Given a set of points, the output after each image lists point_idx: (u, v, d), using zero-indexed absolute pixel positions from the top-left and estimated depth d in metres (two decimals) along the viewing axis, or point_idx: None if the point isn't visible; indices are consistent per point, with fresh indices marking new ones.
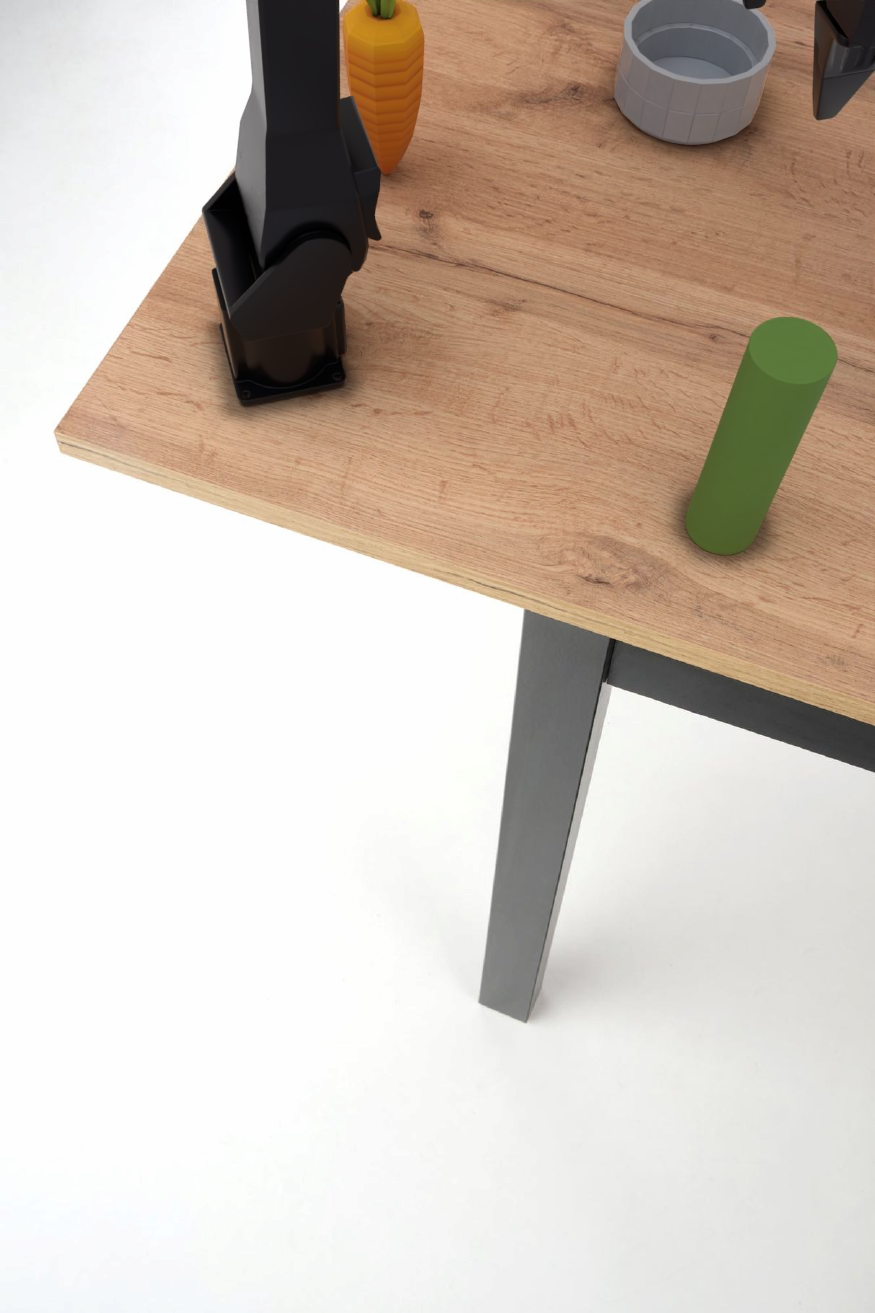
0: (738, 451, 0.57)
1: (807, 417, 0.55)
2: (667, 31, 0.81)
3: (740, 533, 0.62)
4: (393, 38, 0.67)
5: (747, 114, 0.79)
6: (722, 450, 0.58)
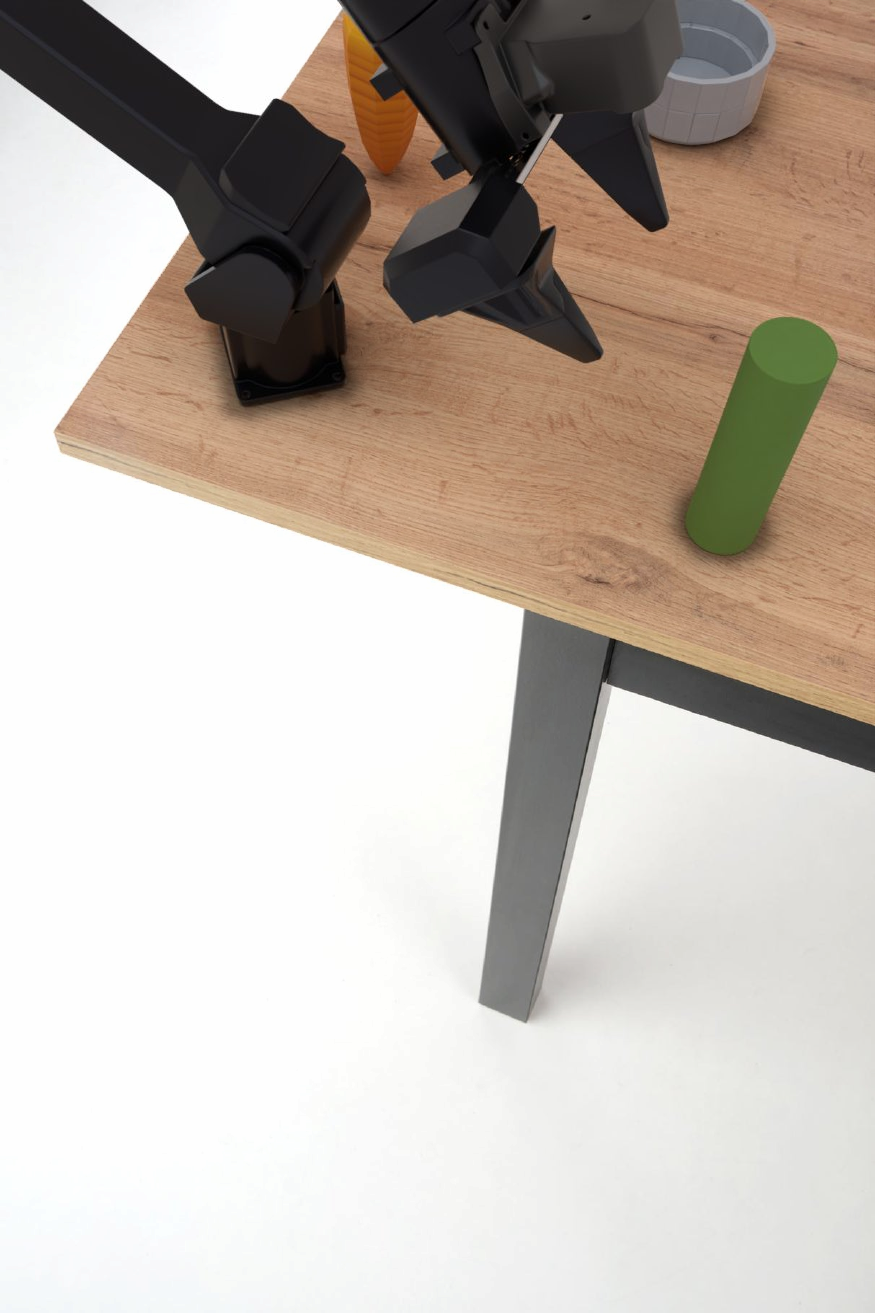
0: (738, 451, 0.57)
1: (807, 417, 0.55)
2: None
3: (740, 533, 0.62)
4: None
5: (747, 114, 0.79)
6: (722, 450, 0.58)
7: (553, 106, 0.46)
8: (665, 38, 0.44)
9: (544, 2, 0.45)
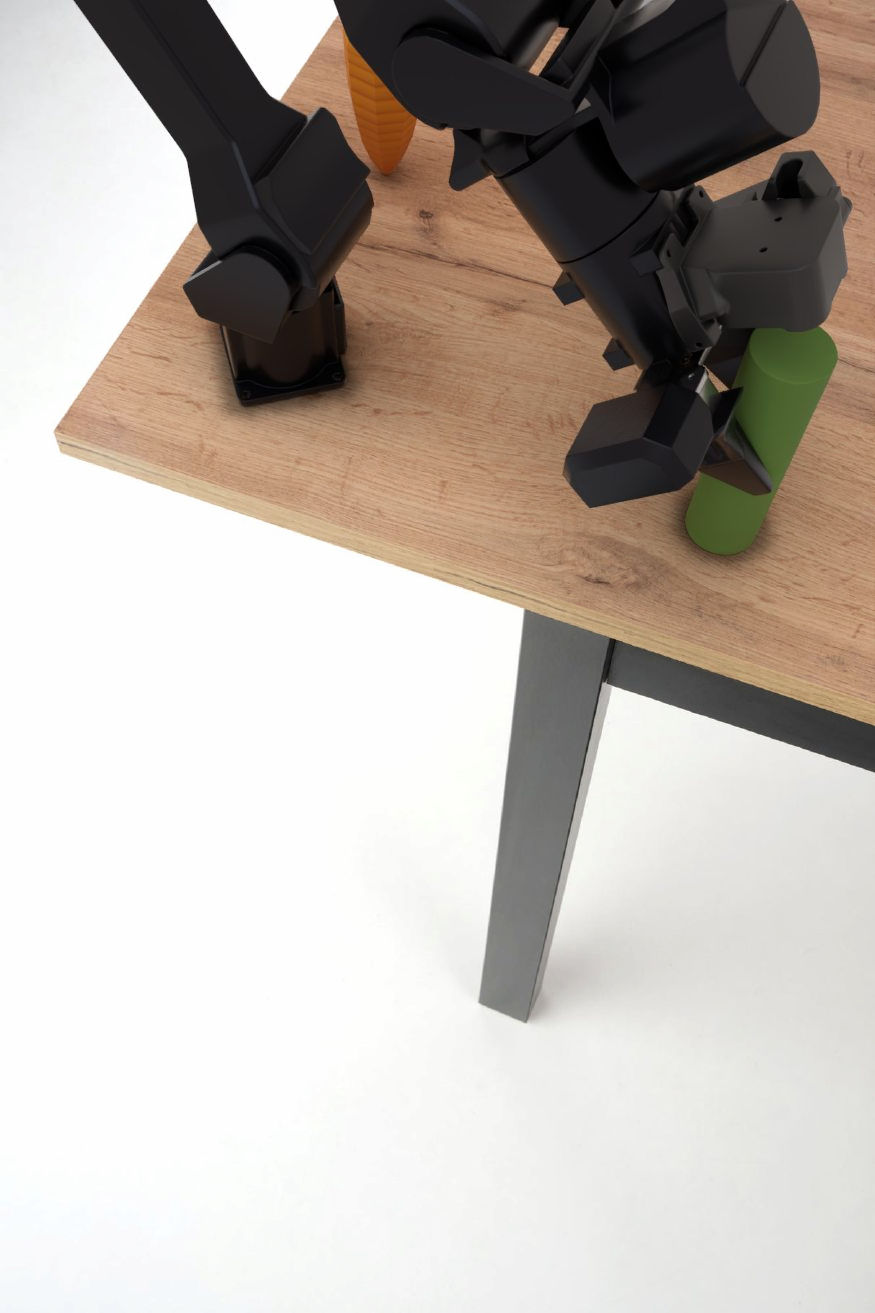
0: None
1: (807, 417, 0.55)
2: None
3: (740, 533, 0.62)
4: None
5: None
6: None
7: (727, 321, 0.50)
8: (834, 266, 0.48)
9: (719, 228, 0.50)
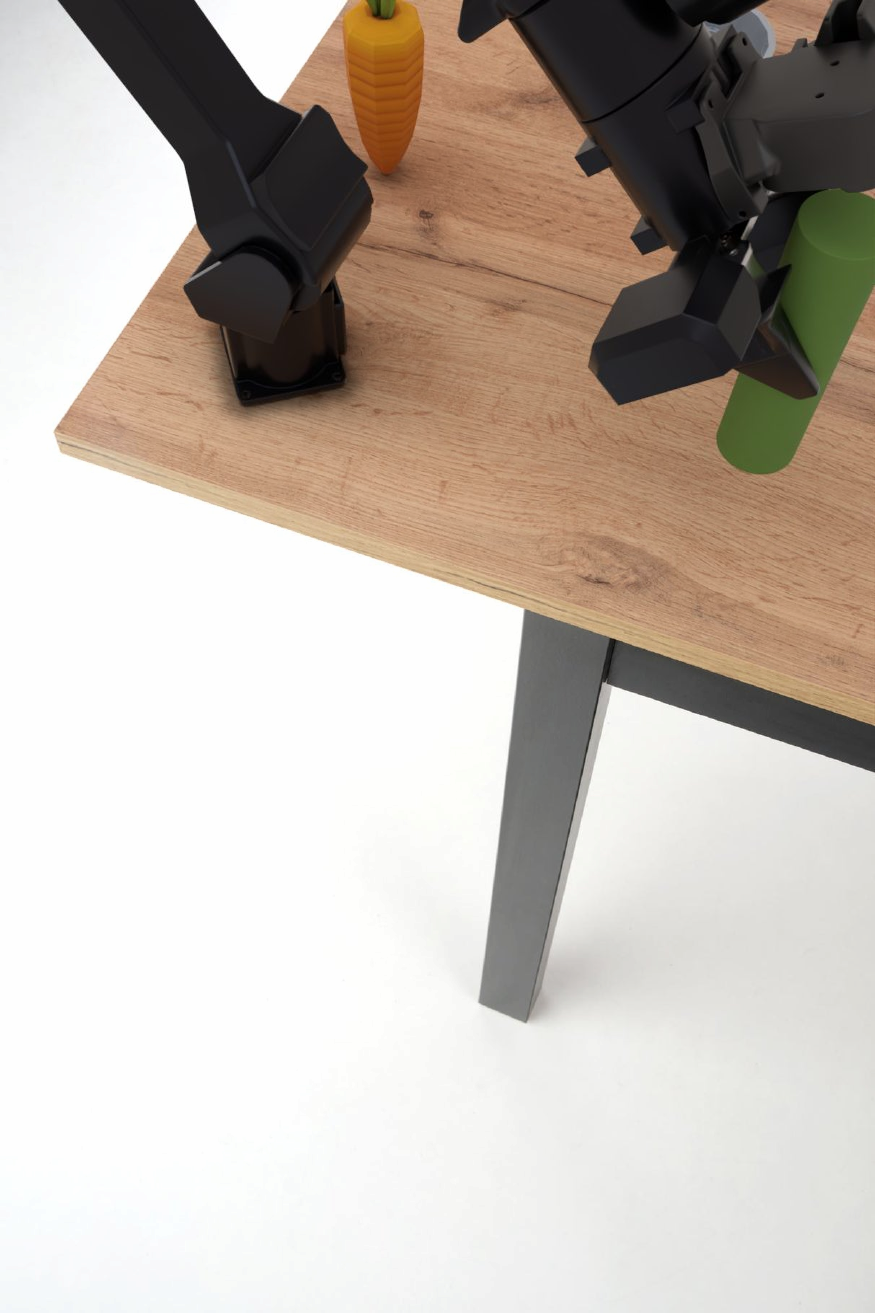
0: None
1: (861, 304, 0.49)
2: None
3: (779, 448, 0.56)
4: (393, 39, 0.67)
5: None
6: None
7: (775, 184, 0.44)
8: None
9: (767, 78, 0.44)
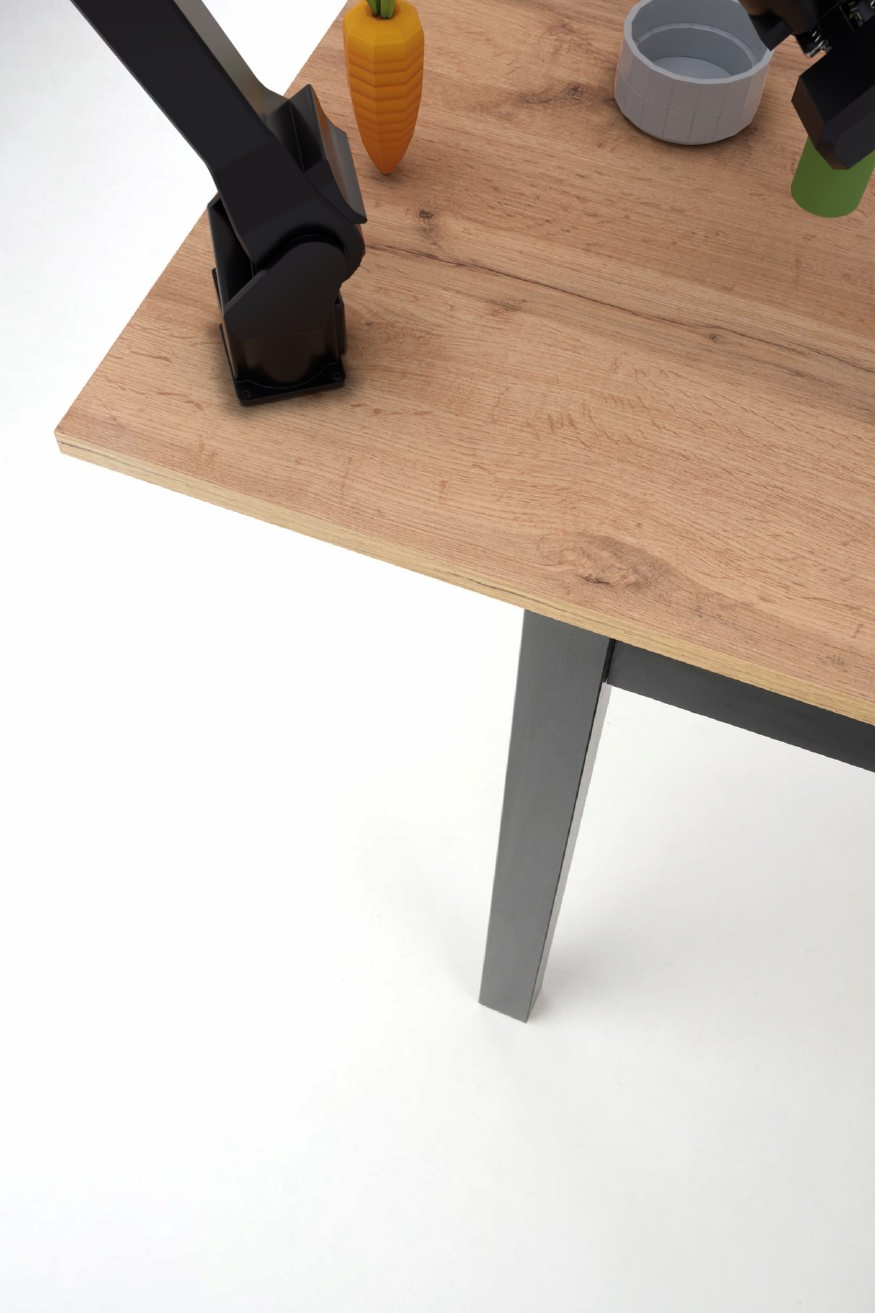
0: None
1: None
2: (667, 31, 0.81)
3: (866, 179, 0.65)
4: (393, 38, 0.67)
5: (747, 114, 0.79)
6: None
7: None
8: None
9: None
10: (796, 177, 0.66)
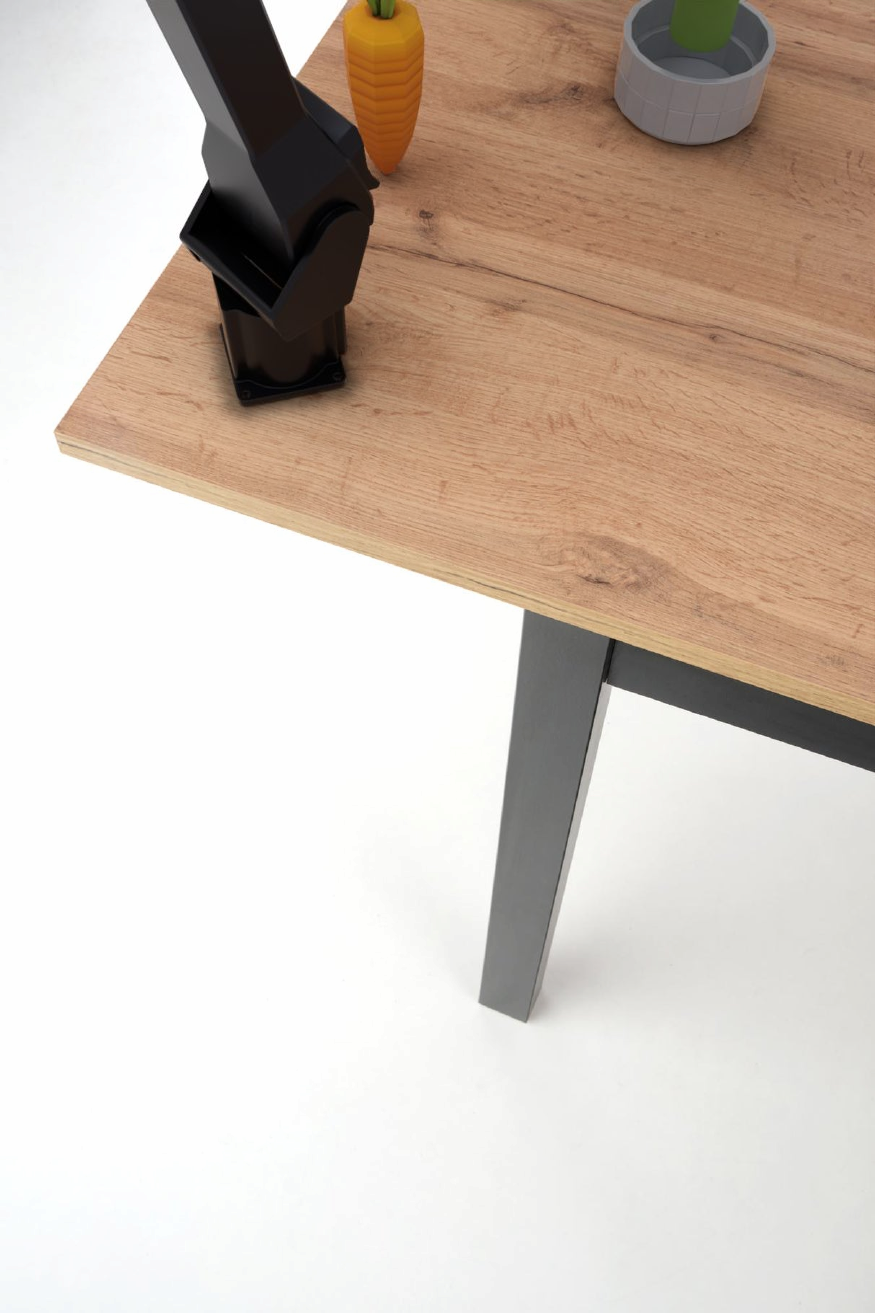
0: None
1: None
2: (667, 31, 0.81)
3: (737, 7, 0.75)
4: (393, 38, 0.67)
5: (747, 114, 0.79)
6: None
7: None
8: None
9: None
10: (679, 27, 0.76)
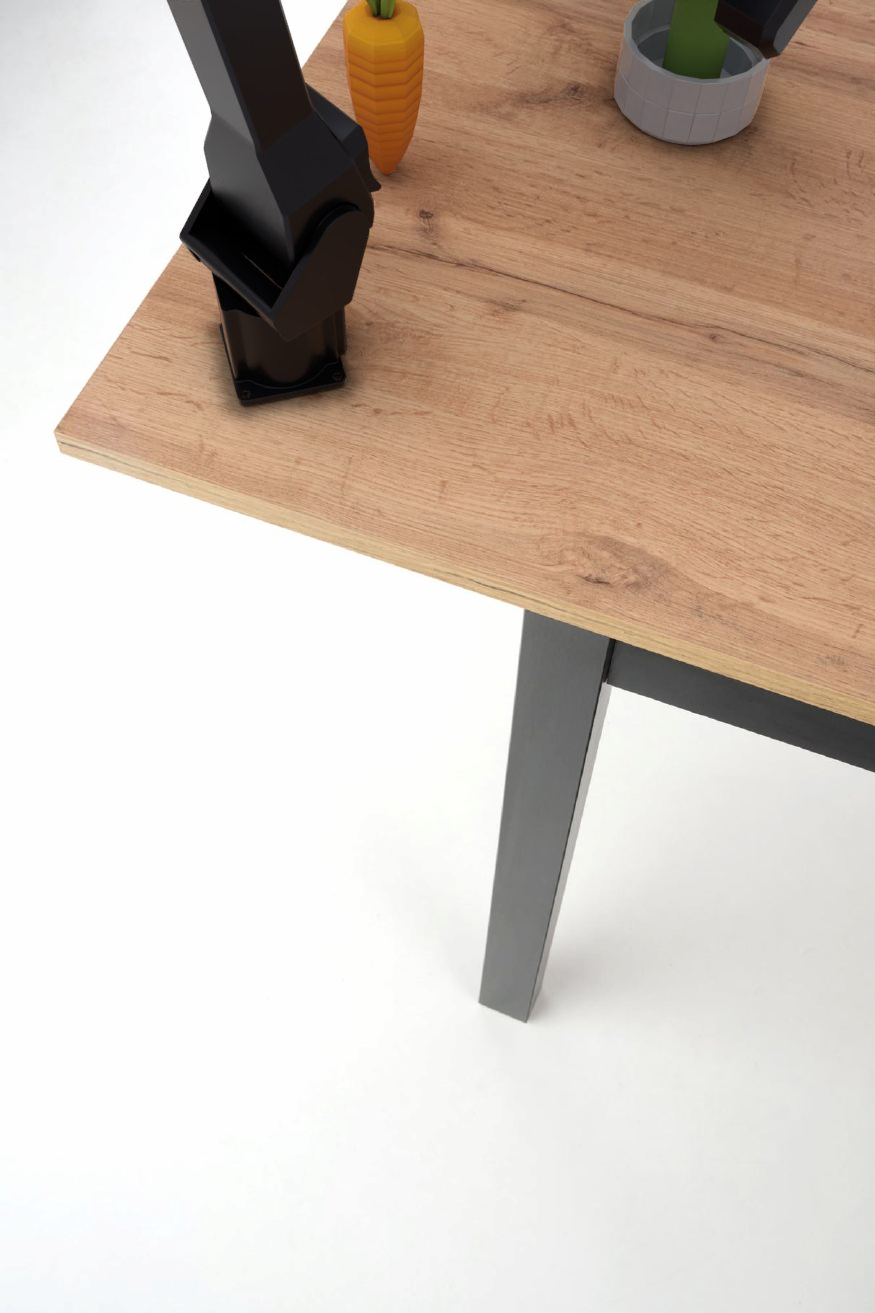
0: None
1: None
2: (667, 31, 0.81)
3: None
4: (393, 39, 0.67)
5: (747, 114, 0.79)
6: (715, 6, 0.74)
7: None
8: None
9: None
10: None
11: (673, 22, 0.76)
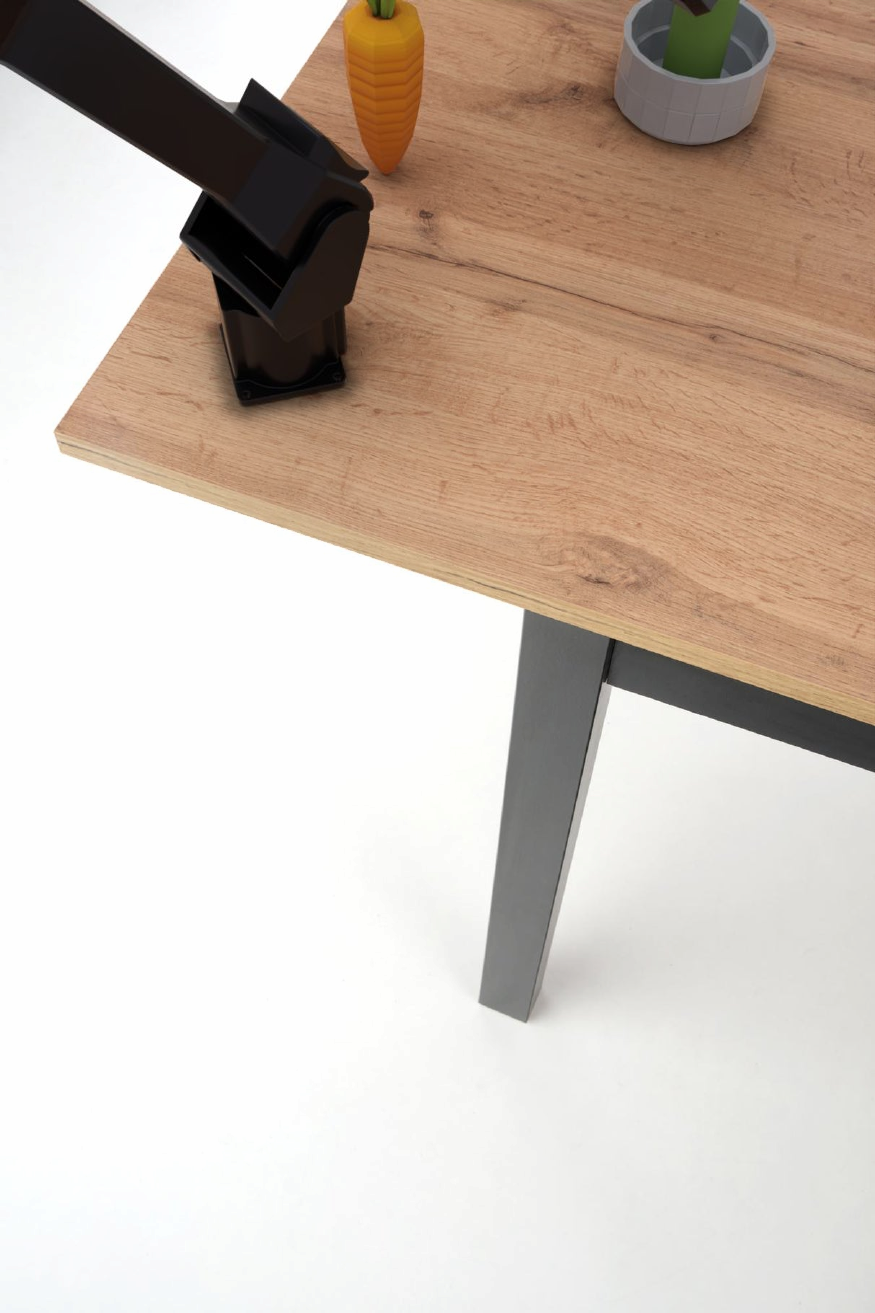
0: None
1: None
2: (667, 31, 0.81)
3: None
4: (393, 38, 0.67)
5: (747, 114, 0.79)
6: (715, 6, 0.74)
7: None
8: None
9: None
10: None
11: (673, 22, 0.76)
